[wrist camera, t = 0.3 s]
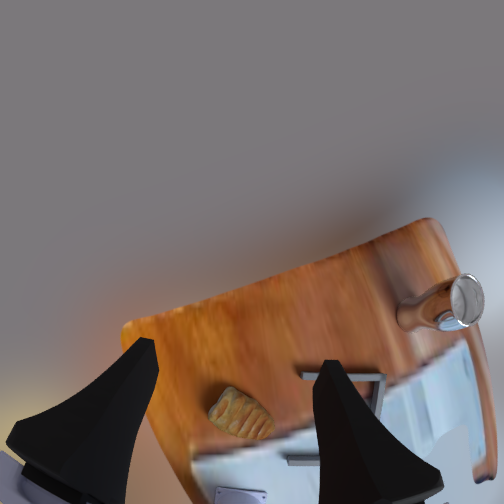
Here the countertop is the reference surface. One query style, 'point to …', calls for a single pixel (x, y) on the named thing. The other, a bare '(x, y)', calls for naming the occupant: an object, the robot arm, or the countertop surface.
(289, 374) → the countertop surface
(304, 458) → the tray slot
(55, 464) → the robot arm
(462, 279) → the beer glass
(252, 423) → the pastry
